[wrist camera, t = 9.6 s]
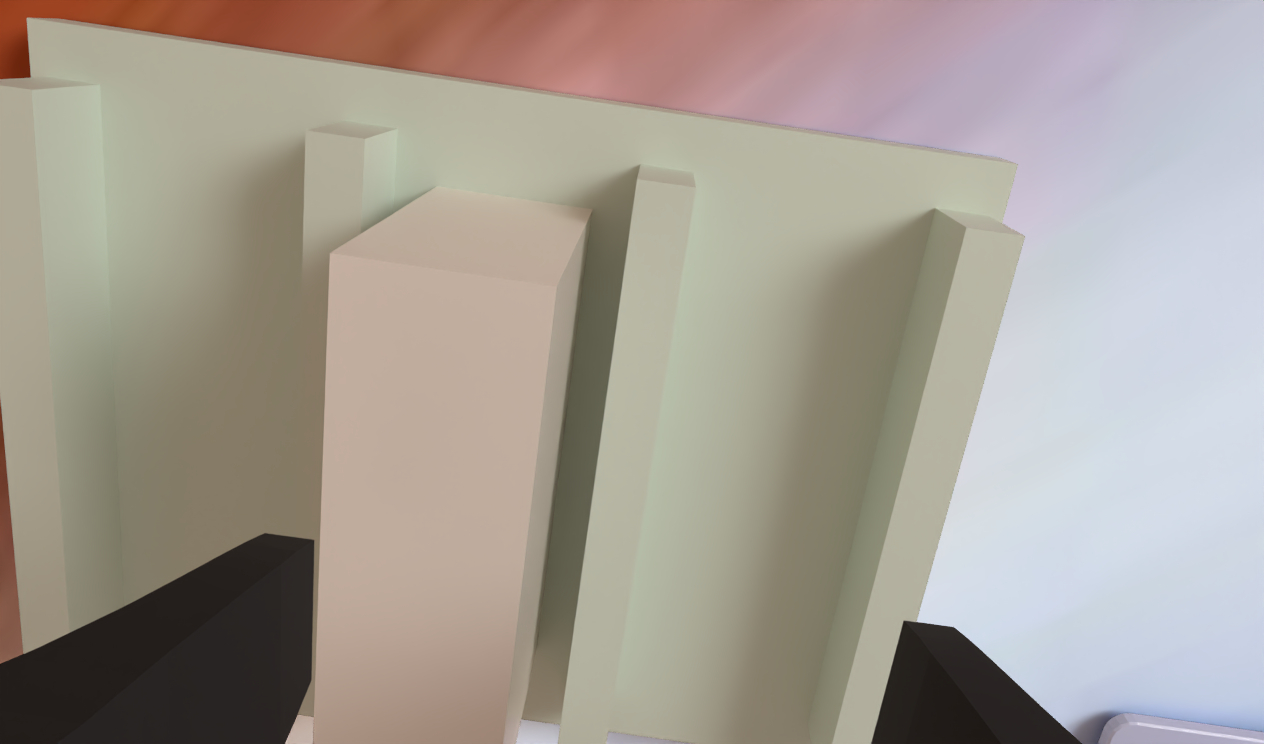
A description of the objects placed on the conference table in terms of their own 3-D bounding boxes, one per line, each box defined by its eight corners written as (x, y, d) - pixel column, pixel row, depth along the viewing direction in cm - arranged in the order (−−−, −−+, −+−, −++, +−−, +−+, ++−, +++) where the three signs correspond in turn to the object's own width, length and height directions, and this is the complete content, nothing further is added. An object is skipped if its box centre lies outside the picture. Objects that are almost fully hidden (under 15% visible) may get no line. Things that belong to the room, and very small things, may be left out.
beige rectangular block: (537, 647, 21) (488, 865, 16) (405, 628, 21) (309, 840, 16) (592, 209, 18) (556, 285, 12) (437, 186, 18) (330, 252, 12)
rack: (846, 736, 23) (870, 834, 20) (96, 629, 23) (14, 712, 20) (1000, 158, 18) (1059, 179, 16) (59, 18, 18) (-53, 15, 15)
